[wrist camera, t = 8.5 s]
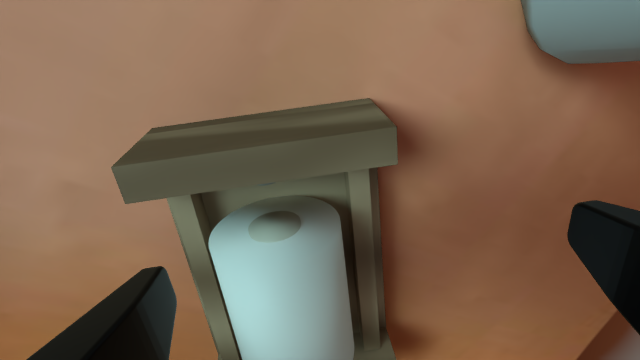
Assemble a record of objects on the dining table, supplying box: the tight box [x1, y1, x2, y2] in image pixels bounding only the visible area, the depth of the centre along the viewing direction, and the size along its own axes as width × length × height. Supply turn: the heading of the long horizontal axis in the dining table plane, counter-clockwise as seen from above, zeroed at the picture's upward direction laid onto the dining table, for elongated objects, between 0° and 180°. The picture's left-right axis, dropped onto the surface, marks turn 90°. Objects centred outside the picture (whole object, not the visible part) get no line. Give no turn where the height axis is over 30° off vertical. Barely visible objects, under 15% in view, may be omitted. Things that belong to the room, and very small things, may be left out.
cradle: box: [111, 98, 398, 360], centre depth 20 cm, size 17×11×5 cm, turn 6°
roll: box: [208, 196, 354, 360], centre depth 19 cm, size 8×6×6 cm
